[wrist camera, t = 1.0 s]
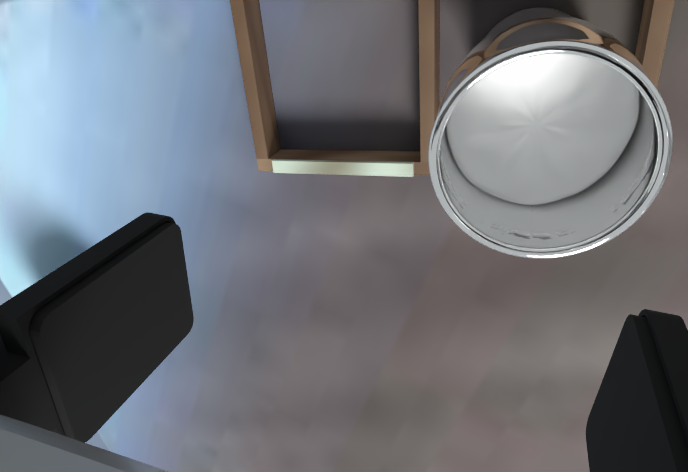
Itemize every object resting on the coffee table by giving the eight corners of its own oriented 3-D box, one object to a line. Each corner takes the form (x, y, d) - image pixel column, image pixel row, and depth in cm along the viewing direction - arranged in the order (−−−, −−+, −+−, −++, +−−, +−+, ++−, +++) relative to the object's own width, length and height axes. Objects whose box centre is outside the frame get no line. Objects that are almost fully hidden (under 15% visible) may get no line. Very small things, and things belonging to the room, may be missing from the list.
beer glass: (440, 89, 29) (380, 187, 16) (518, -31, 25) (517, -23, 13) (542, 154, 29) (559, 302, 16) (635, 44, 25) (750, 127, 13)
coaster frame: (674, -61, 23) (689, -63, 21) (631, 168, 28) (639, 183, 26) (243, -19, 29) (224, -18, 27) (271, 160, 34) (256, 172, 32)
